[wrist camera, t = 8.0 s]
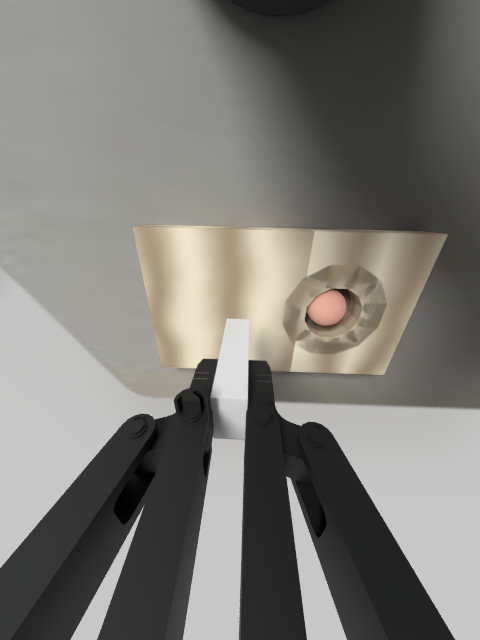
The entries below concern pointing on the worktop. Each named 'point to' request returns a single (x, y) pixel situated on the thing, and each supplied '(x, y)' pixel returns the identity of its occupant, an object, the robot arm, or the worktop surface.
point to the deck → (283, 292)
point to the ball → (327, 308)
